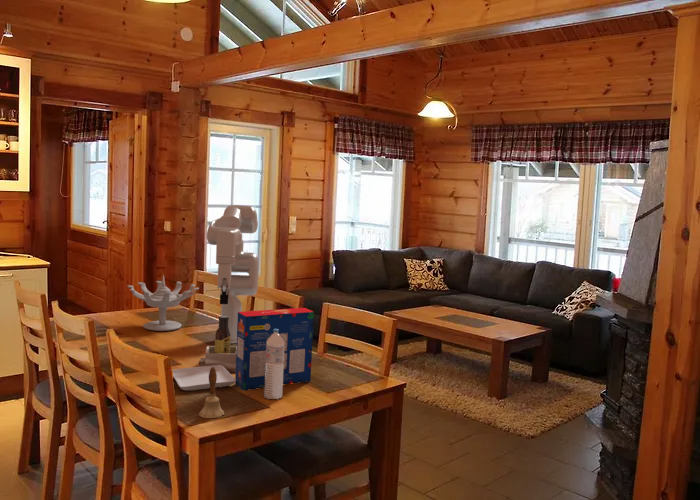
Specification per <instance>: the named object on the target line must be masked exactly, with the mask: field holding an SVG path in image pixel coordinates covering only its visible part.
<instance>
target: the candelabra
mask: <svg viewBox="0 0 700 500" xmlns="http://www.w3.org/2000/svg"><path fill="white" fill-rule="evenodd" d="M155 282H156V283H157V287H156V288H157V289H155V291H154V292H153V293H152V292H151V291H149V289H148V288H147V286H146V283H145V282H142V281H141V282H140V281H139V282H137V283H136V284H137V285H140V289H141V291H142V292H143V294H142V293H140V292H138V291H137V290H135V288H134V287H135V286H134V285H127V288H130V289H129V291H130V292H131V293H132V295H133V296H134V297H136V299H137V298H138V299H139V300H141V301H144V302H146V305H147V306H149V307H150V308H151V307H152V308H157V309H158V311H159V318H158V320H152V321H148V322H144V324H142V327H143V328H144V329H146V330H148V331H154V332H155V331H156V332H167V331H174V330H175V331H176V330H178V329H181V327H182V323H180V322H178V321H175V320H167V311H168V308H174V307H178V306H179V305H180V303H181V302H182V301H184V300H186V299H189V298H190V297H192V296H193V295H195V293H196V291H197V290H199V289H200V287H196V284H194V283H192V284H190V286H189V289H188V290H186V291H182V293H181V294H180V293H179V292H180V291H181V289H182V287H183V286H182V282H181V281H176V285H175V288H174V289H173V290H172V291H171V289H170V288H169V287H168V286H167V285H166V283H165V274H163V276H162V280H156V281H155ZM194 287H195V288H194Z"/></svg>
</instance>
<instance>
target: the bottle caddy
mask: <svg viewBox="0 0 700 500" xmlns="http://www.w3.org/2000/svg"><path fill="white" fill-rule="evenodd" d="M236 349H237V345H235V346H233V345H232V346H231V345H230V353H215V345H207V346H206V350H205V357H200V361H199V364H198V365H199V366H198V367H201V366H212V365H222V366H223V367H224V368H225V369H226V370H227V371H228V372H229V373H230V374H236Z"/></svg>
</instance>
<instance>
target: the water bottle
mask: <svg viewBox="0 0 700 500" xmlns="http://www.w3.org/2000/svg"><path fill="white" fill-rule="evenodd" d="M278 331H279V330H278V329H273V332H274V333H273V334H271V335H270V336H269V337H268V338H267V340H266V358H265V375H264V376H265V377H264V388H263V397H264V399H266V398H267V399H266V400H269V399H277V400H280V399H282V398H283V395H284V385H283V376H284V375H283V374H284V345H285V340H284V338H283V337H282V336H281V335H280V334H278ZM281 397H282V398H281ZM279 398H280V399H279Z"/></svg>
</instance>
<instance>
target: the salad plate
mask: <svg viewBox="0 0 700 500" xmlns="http://www.w3.org/2000/svg"><path fill="white" fill-rule="evenodd" d="M211 367H215V371H216V374H217V380H216V384H215V389H218V388H217V387H219V388H224V387H229V386H232V385H234V384H235V382H236V379H235V376H233V375H232V373H229V372H228V371H227V370H226V369H225V368H224V367H223V366H222V365H212V366H201V367H199V366H194V367H193V366H192V367H191V366H190V367H184V368H176V369H175V368H174V369H171V370H172V371H173V377H172V378H173V379H174V380H175V382H176V384H177V386H178V387H179V389H180V390H182V391H198V390H199V391H200V390H208V389H209V388H210V383H209V373H210V370H211ZM209 390H210V389H209Z"/></svg>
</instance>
